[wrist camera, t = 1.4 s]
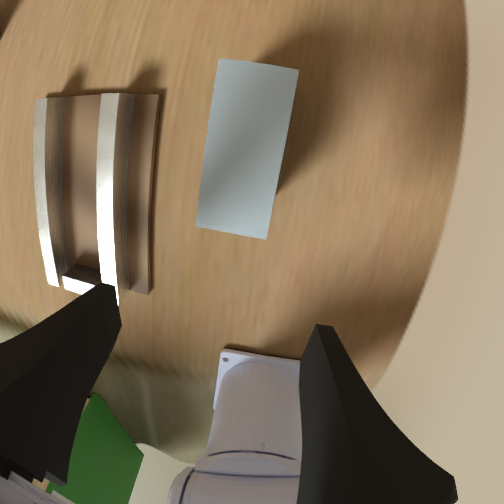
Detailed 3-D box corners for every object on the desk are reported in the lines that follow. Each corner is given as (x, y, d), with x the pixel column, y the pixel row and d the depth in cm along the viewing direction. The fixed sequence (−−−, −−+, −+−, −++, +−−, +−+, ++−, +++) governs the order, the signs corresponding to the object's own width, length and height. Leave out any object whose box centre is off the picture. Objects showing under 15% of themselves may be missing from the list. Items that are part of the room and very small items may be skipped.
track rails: (130, 290, 21) (118, 305, 19) (61, 271, 21) (48, 283, 19) (135, 93, 15) (119, 93, 13) (54, 97, 15) (35, 99, 13)
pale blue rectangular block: (271, 199, 18) (267, 239, 12) (220, 190, 18) (194, 226, 12) (293, 85, 15) (300, 70, 9) (238, 77, 15) (218, 58, 9)
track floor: (150, 291, 21) (148, 294, 21) (52, 264, 22) (49, 267, 21) (161, 94, 15) (158, 94, 15) (44, 99, 15) (40, 99, 15)
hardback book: (58, 382, 31) (-12, 514, 9) (98, 394, 30) (30, 548, 8) (107, 445, 38) (67, 550, 17) (144, 455, 38) (108, 570, 16)
